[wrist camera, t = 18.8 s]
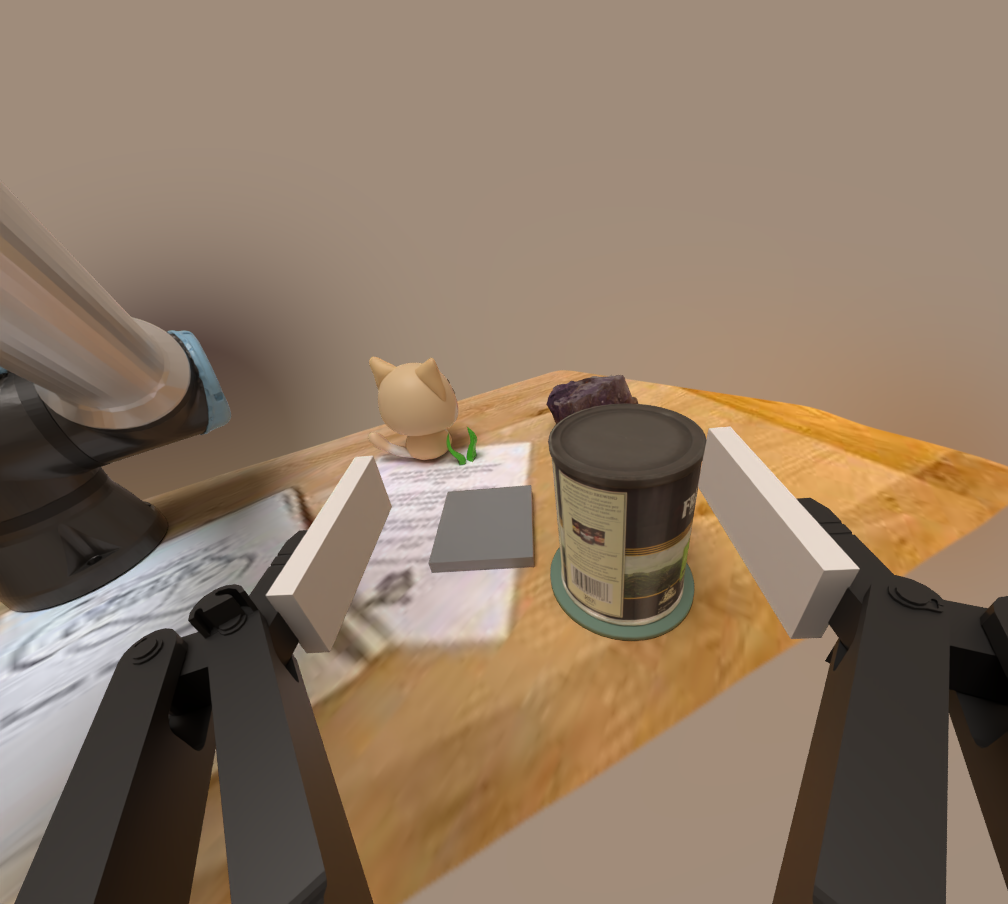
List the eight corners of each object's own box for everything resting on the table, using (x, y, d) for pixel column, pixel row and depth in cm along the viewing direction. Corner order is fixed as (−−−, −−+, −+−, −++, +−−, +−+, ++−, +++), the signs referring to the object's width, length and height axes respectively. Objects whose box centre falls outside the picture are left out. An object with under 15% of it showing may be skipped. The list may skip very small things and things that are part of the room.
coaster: (535, 546, 39) (534, 542, 39) (646, 518, 40) (647, 513, 40) (579, 659, 29) (579, 655, 28) (726, 616, 30) (728, 611, 30)
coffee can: (678, 537, 37) (696, 401, 29) (690, 638, 28) (720, 483, 21) (568, 527, 40) (560, 402, 32) (550, 615, 31) (534, 473, 24)
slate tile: (532, 556, 36) (531, 485, 45) (428, 563, 37) (447, 491, 46) (534, 570, 37) (532, 497, 46) (432, 575, 38) (450, 503, 47)
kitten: (494, 441, 58) (477, 342, 50) (461, 480, 51) (435, 370, 43) (413, 431, 64) (387, 342, 56) (373, 465, 57) (337, 367, 49)
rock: (565, 423, 62) (549, 455, 54) (553, 373, 59) (534, 399, 51) (641, 416, 57) (636, 450, 49) (634, 360, 54) (627, 387, 46)
